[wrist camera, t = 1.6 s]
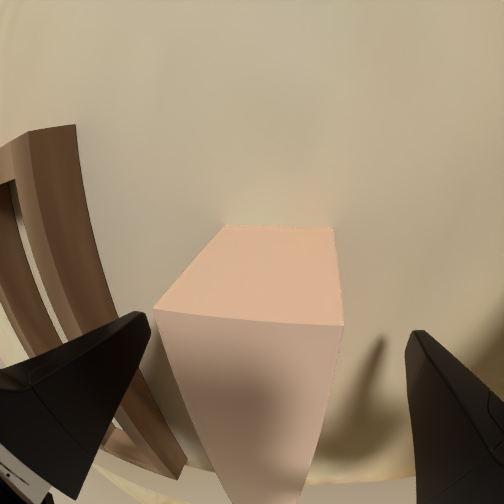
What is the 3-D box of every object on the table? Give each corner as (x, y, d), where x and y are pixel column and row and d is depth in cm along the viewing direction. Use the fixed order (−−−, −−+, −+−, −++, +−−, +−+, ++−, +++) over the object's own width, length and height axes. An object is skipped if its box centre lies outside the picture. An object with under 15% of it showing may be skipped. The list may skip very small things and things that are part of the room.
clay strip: (331, 225, 9) (344, 325, 4) (300, 464, 16) (290, 520, 12) (226, 223, 10) (152, 308, 5) (253, 459, 17) (238, 513, 12)
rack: (75, 124, 9) (28, 131, 7) (187, 458, 19) (177, 480, 17) (-6, 161, 11) (-37, 172, 8) (109, 430, 21) (98, 448, 19)
